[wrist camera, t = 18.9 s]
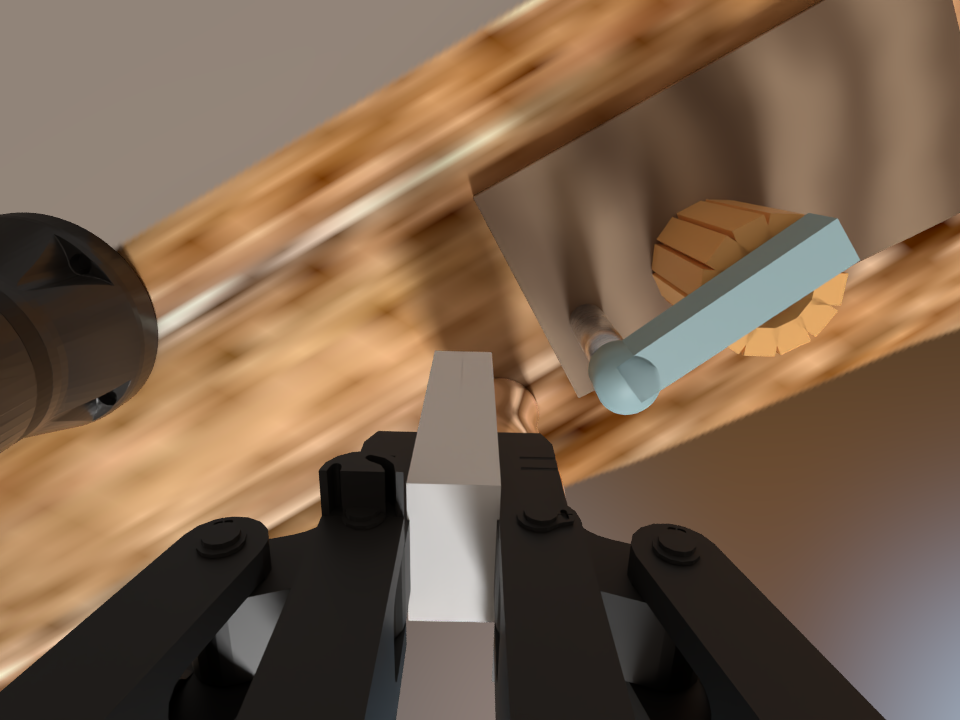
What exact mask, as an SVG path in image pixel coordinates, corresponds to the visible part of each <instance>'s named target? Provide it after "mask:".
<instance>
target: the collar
mask: <svg viewBox="0 0 960 720" xmlns="http://www.w3.org/2000/svg"><path fill="white" fill-rule="evenodd" d="M676 214H677V216H678V219H677V218H674V217H672V218H671V219H670V221H669V222H668V224H667V225H666V227H665V228H664V229H663V231H662V232H661V234H660V235H659V236H658V238H657V240H658V241H660V242H661V243H663V244H655V245H654V253H653V261H652V269H651V270H653V271H654V272H655V273H653V274H652V275H653V277H654V280H655V282H656V284H657V286H658V289H659V291H660V293H661V295H662V296H663V297H664V298H665V300H666V301H668V302H669V303H670V304H671V305H674V304H676V303H677V302H679V301H680V300H682V299H683V298H685V297H686V296H688V295H689V294H691V293H692V292H694V291H695V290H696V289H698V288H699V287H701V286H702V285H704V284H705V283H707V282H708V281H710V280H711V279H713V278H714V277H715V276H717V275H718V274H720V273H721V272H723V271H724V270H726V269H727V268H729V267H730V266H732V265H733V264H735V263H736V262H737V261H739V260H740V259H742V258H743V257H745V256H746V255H748V254H749V253H751V252H752V251H754V250H755V249H756V248H758V247H759V246H761V245H762V244H764V243H765V242H767V241H768V240H770V239H771V238H773V237H774V236H776V235H777V234H778V233H780V232H781V231H783V230H784V229H786V228H787V227H789V226H790V225H792V224H793V223H795V222H796V221H797V220H799V219H800V218H802V217H803V216H805V215H804V214H801V213H796V212H790V211H785V210H780V209H775V208H770V207H765V206H759V205H754V204H749V203H744V202H739V201H734V200H709V199H706V201H699V202H697V203H695V204H693V205H691V206H689V207H688V208H686V209H684V210H682V211H680V212H678V213H676ZM847 277H848V273H845V272H841V273H840V274H838V275H837V276H835V277H834V278H832V279H831V280H829V281H828V282H826V283H825V284H823V285H822V286H820V287H818V288H817V289H815V290H814V291H812V292H811V293H809V294H808V295H806V296H805V297H803V298H802V299H800V300H799V301H797V302H796V303H794V304H792V305H791V306H789V307H788V308H786V309H785V310H783V311H782V312H780V313H779V314H777V315H776V316H774V317H773V318H771V319H769V320H768V321H766V322H765V323H763V324H762V325H760V326H759V327H757V328H756V329H754V330H753V331H751V332H750V333H748V334H747V335H745V336H743V337H742V338H740V339H739V340H737V341H736V342H734V343H733V344H731V345H730V346H728V348H730V349H731V350H733V351H735V352H736V353H738V354H739V353H741V354H742V355H744V356H775V353H776V352H777V353H778V354H780V355H782V354H784V353H786V352H789V351H791V350H793V349H795V348H797V347H799V346H801V345H803V344H806V343H808V342H810V341H811V340H810V337H809V335H808V333H810V334H811V335H813V336H815V337H816V336H817V335H818V334H819V333H820V332H821V331H822V329H823V328H824V327H825V326H826V325H827V323H828V322H829V321H830V320H831V319H832V317H833V316H834V315H835V314H836V313H837V312H838V311H837V310H836V309H834V308H833V307H831V306H830V305H841V302H842V298H843V294H844V290H845V286H846V281H847Z"/></svg>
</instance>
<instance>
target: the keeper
mask: <svg viewBox="0 0 960 720" xmlns="http://www.w3.org/2000/svg"><path fill="white" fill-rule="evenodd" d="M858 261H860V259H859V257H858V255H857V253H856V251H855V249H854V248H853V246H852V244H851V242H850V240H849V238H848V236H847V235H846V233H845V231H844V229H843V227H842V225H841V224H840V222H839V220H838V218H833V217H828V216H823V215H817V214H812V213H808V214H806V215H805V216H803V217H802V218H800V219H799V220H797V221H796V222H795V223H793V224H792V225H790V226H789V227H787V228H786V229H784V230H783V231H781V232H780V233H778V234H777V235H776V236H774V237H773V238H771V239H770V240H768V241H767V242H765V243H764V244H762V245H761V246H759V247H758V248H756V249H755V250H754V251H752V252H751V253H749V254H748V255H746V256H745V257H743V258H742V259H740V260H739V261H737V262H736V263H735V264H733V265H732V266H730V267H729V268H727V269H726V270H724V271H723V272H721V273H720V274H718V275H717V276H715V277H714V278H713V279H711V280H710V281H708V282H707V283H705V284H704V285H702V286H701V287H699V288H698V289H696V290H695V291H694V292H692V293H691V294H689V295H688V296H686V297H685V298H683V299H682V300H680V301H679V302H677V303H676V304H674V305H673V306H672V307H670V308H669V309H667V310H666V311H664V312H663V313H661V314H660V315H658V316H657V317H655V318H654V319H653V320H651V321H650V322H648V323H647V324H645V325H644V326H642V327H641V328H639V329H638V330H636V331H635V332H633V333H632V334H631V335H629V336H628V337H626V338H625V339H623V340H616V341H611V342H608V343H606V344H604V345H602V346H601V347H599V348H598V349H597V350H596V351H595V352H594V354H593V355H592V357H591V359H590V362H589V366H588V374H589V378H590V381H591V383H592V385H593V387H594V389H595V391H596V393H597V395H598V397H599V399H600V401H601V402H602V404H603V405H604V406H605V407H606V408H607V409H609V410H610V411H612V412H614V413H617V414H624V415H629V414H635V413H638V412H641V411H643V410H644V409H646V408H647V407H649V406H650V405H651V404H652V403H653V402H654V401H655V399H656V398H657V396H658V394H659V391H661V390H662V389H664V388H665V387H667V386H668V385H670V384H671V383H673V382H675V381H676V380H678V379H679V378H681V377H682V376H684V375H685V374H687V373H688V372H690V371H691V370H693V369H694V368H696V367H697V366H699V365H701V364H702V363H704V362H705V361H707V360H708V359H710V358H711V357H713V356H714V355H716V354H717V353H719V352H720V351H722V350H724V349H725V348H727V347H728V346H730V345H731V344H733V343H734V342H736V341H737V340H739V339H740V338H742V337H743V336H745V335H747V334H748V333H750V332H751V331H753V330H754V329H756V328H757V327H759V326H760V325H762V324H763V323H765V322H766V321H768V320H769V319H771V318H773V317H774V316H776V315H777V314H779V313H780V312H782V311H783V310H785V309H786V308H788V307H789V306H791V305H792V304H794V303H796V302H797V301H799V300H800V299H802V298H803V297H805V296H806V295H808V294H809V293H811V292H812V291H814V290H815V289H817V288H818V287H820V286H822V285H823V284H825V283H826V282H828V281H829V280H831V279H832V278H834V277H835V276H837V275H838V274H840V273H841V272H843V271H845V270H846V269H848V268H849V267H851V266H852V265H854V264H855V263H857V262H858Z"/></svg>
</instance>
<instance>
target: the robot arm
mask: <svg viewBox="0 0 960 720" xmlns="http://www.w3.org/2000/svg"><path fill="white" fill-rule="evenodd" d="M157 347H158V330H157V323H156V318H155V314H154V310H153V307H152V304H151V301H150V299H149V297H148V294H147V292H146V290H145V288H144V286H143V285H142V283H141V281H140V280H139V278H138V277H137V275H136V274H135V272H134V271H133V270H132V268H131V267H130V266H129V265H128V263H127V262H126V261H125V260H124V259H123V258H122V257H121V256H120V255H119V254H118V253H117V252H116V251H115V250H114V249H113V248H112V247H110V246H109V245H108V244H107V243H105V242H104V241H103V240H102V239H100V238H99V237H97V236H95V235H94V234H93V233H91V232H89V231H87V230H86V229H84V228H82V227H80V226H78V225H76V224H73V223H71V222H68V221H66V220H63V219H60V218H56V217H53V216H48V215H44V214H36V213H10V214H3V215H0V453H1V452H3V451H4V450H6V449H7V448H9V447H10V446H11V445H13V444H15V443H16V442H18V441H19V440H21V439H23V438H26V437H31V436H35V435H40V434H45V433H50V432H55V431H59V430H64V429H69V428H74V427H78V426H82V425H86V424H89V423H91V422H94V421H96V420H99V419H101V418H103V417H105V416H106V415H108V414H110V413H111V412H113V411H114V410H116V409H117V408H118V407H120V406H121V405H123V404H124V403H125V402H127V401H128V400H129V399H131V398H132V397H133V396H134V395H135V394H136V393H137V392H138V391H139V390H140V389H141V388H142V386H143V385H144V384H145V382H146V381H147V379H148V377H149V375H150V373H151V371H152V369H153V366H154V363H155V359H156V354H157ZM319 481H320V495H321V509H322V517H321V519H320V521H319V524H318V526H317V527H316V528H314V529H311V530H309V531H306V532H302V533H298V534H294V535H289V536H284V537H278V538H273V539H269V536H268V529H267V528H266V527H265V526H264V525H263V524H262V523H261V522H260V521H257V520H254V519H251V518H248V517H226V518H220V519H216V520H213V521H210V522H207V523H205V524H202V525H199V526H197V527H196V528H194V529H193V530H191V531H190V532H188V533H186V534H185V535H183V536H182V537H181V538H180V539H179V540H178V541H176V542H175V543H174V544H173V545H172V546H171V547H169V548H168V549H167V550H166V551H165V552H164V553H162V554H161V555H160V556H159V557H158V558H157V559H155V560H154V561H153V562H152V563H151V564H149V565H148V566H147V567H146V568H145V569H144V570H142V571H141V572H140V573H139V574H138V575H137V576H135V577H134V578H133V579H132V580H131V581H130V582H128V583H127V584H126V585H125V586H124V587H123V588H121V589H120V590H119V591H118V592H117V593H116V594H114V595H113V596H112V597H111V598H110V599H108V600H107V601H106V602H105V603H104V604H103V605H101V606H100V607H99V608H98V609H97V610H96V611H94V612H93V613H92V614H91V615H90V616H89V617H87V618H86V619H85V620H84V621H83V622H82V623H80V624H79V625H78V626H77V627H76V628H75V629H73V630H72V631H71V632H70V633H69V634H68V635H66V636H65V637H64V638H63V639H62V640H60V641H59V642H58V643H57V644H56V645H55V646H53V647H52V648H51V649H50V650H49V651H48V652H46V653H45V654H44V655H43V656H42V657H41V658H39V659H38V660H37V661H36V662H35V663H34V664H32V665H31V666H30V667H29V668H28V669H27V670H25V671H24V672H23V673H22V674H21V675H19V676H18V677H17V678H16V679H15V680H14V681H12V682H11V683H10V684H9V685H8V686H7V687H5V688H4V689H3V690H2V691H1V692H0V720H396V716H397V708H398V701H399V695H400V687H401V679H402V673H403V666H404V659H405V652H406V618H407V612H409V613H408V614H409V615H408V616H409V621H458V622H495V628H494V650H493V671H492V682H495V712H496V720H886V719H884V717H883V716H882V715H881V714H880V713H879V712H878V711H877V710H876V709H875V708H874V707H873V706H872V705H871V704H870V703H869V702H868V701H867V700H866V699H865V698H864V697H863V696H862V695H861V694H860V693H859V692H858V691H857V690H856V689H855V688H854V687H853V686H852V685H851V684H850V683H849V681H848V680H847V679H846V678H844V676H843V675H842V674H841V673H840V672H839V671H838V670H837V669H836V668H835V667H834V666H833V665H832V664H831V663H830V662H829V661H828V660H827V659H826V658H825V657H824V656H823V655H822V654H821V653H820V652H819V651H818V650H817V649H816V648H815V647H814V646H813V645H812V644H811V643H810V642H809V641H808V640H807V638H806V637H805V636H804V635H803V634H802V633H801V632H800V631H799V630H798V629H797V628H796V627H795V626H794V625H793V624H792V623H791V622H790V621H789V620H788V619H787V618H786V617H785V616H784V615H783V614H782V613H781V612H780V611H779V610H778V609H777V608H776V607H775V606H774V605H773V604H772V603H771V602H770V601H769V600H768V599H767V597H766V596H765V595H763V593H762V592H761V591H760V590H759V589H758V588H757V587H756V586H755V585H754V584H753V583H752V582H751V581H750V580H749V579H748V578H747V577H746V576H745V575H744V574H743V573H742V572H741V571H740V570H739V569H738V568H737V567H736V566H735V565H734V564H733V563H732V562H731V561H730V560H729V559H728V558H727V557H726V555H724V554H723V552H722V551H720V549H719V548H718V547H717V546H716V545H715V544H714V543H712V542H711V541H710V540H708V539H707V538H706V537H704V536H703V535H702V534H699V533H697V532H695V531H693V530H691V529H688V528H686V527H682V526H679V525H678V526H677V525H673V524H652V525H648V526H645V527H641V528H640V529H639V530H637V531H636V532H635V533H634V534H633V536H632V541H631V544H628V543H624V542H620V541H615V540H611V539H608V538H604V537H601V536H597V535H596V534H594V533H591V532H589V531H587V530H586V529H584V528H583V526H582V522H581V520H580V518H579V516H578V515H577V513H576V512H575V511H574V510H573V509H571V508H570V507H569V506H567V502H566V498H565V494H564V490H563V486H562V482H561V478H560V474H559V471H558V466H557V462H556V460H555V454H554V450H553V446H552V444H551V443H550V442H549V441H548V440H547V439H546V438H544V437H543V436H542V435H541V434H540V433H511V432H497V420H496V405H495V391H494V376H493V362H492V352H466V351H435V353H434V357H433V362H432V367H431V371H430V376H429V381H428V385H427V390H426V395H425V399H424V404H423V408H422V413H421V418H420V422H419V427H418V432H394V431H378V432H376V433H375V434H374V435H373V436H371V437H370V438H369V439H368V440H366V441H365V442H364V444H363V447H362V449H361V452H351V453H348V454H344V455H340V456H337V457H335V458H333V459H331V460H329V461H328V462H326V463H325V464H324V465H323V466H322V467H321V468H320V470H319Z"/></svg>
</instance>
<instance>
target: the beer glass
mask: <svg viewBox="0 0 960 720" xmlns="http://www.w3.org/2000/svg"><path fill="white" fill-rule="evenodd" d="M494 391H495V405H496V420H497V432H511V433H540V432H539V431H538V429H537V424H538V418H539V413H538V406H537V403H536V401H535V399H534V397H533V395H532V394H531V393H530V392H529V391H528V390H527V389H526V388H525V387H524V386H523V385H521V384H519V383H518V382H515V381H513V380H509V379H504V378H494ZM557 466H558V465H557ZM558 471H559V468H558ZM559 474H560V471H559ZM560 478H561V482H562V486H563V481H562V477H561V474H560ZM563 490H564V486H563ZM564 494H565V491H564Z"/></svg>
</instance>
